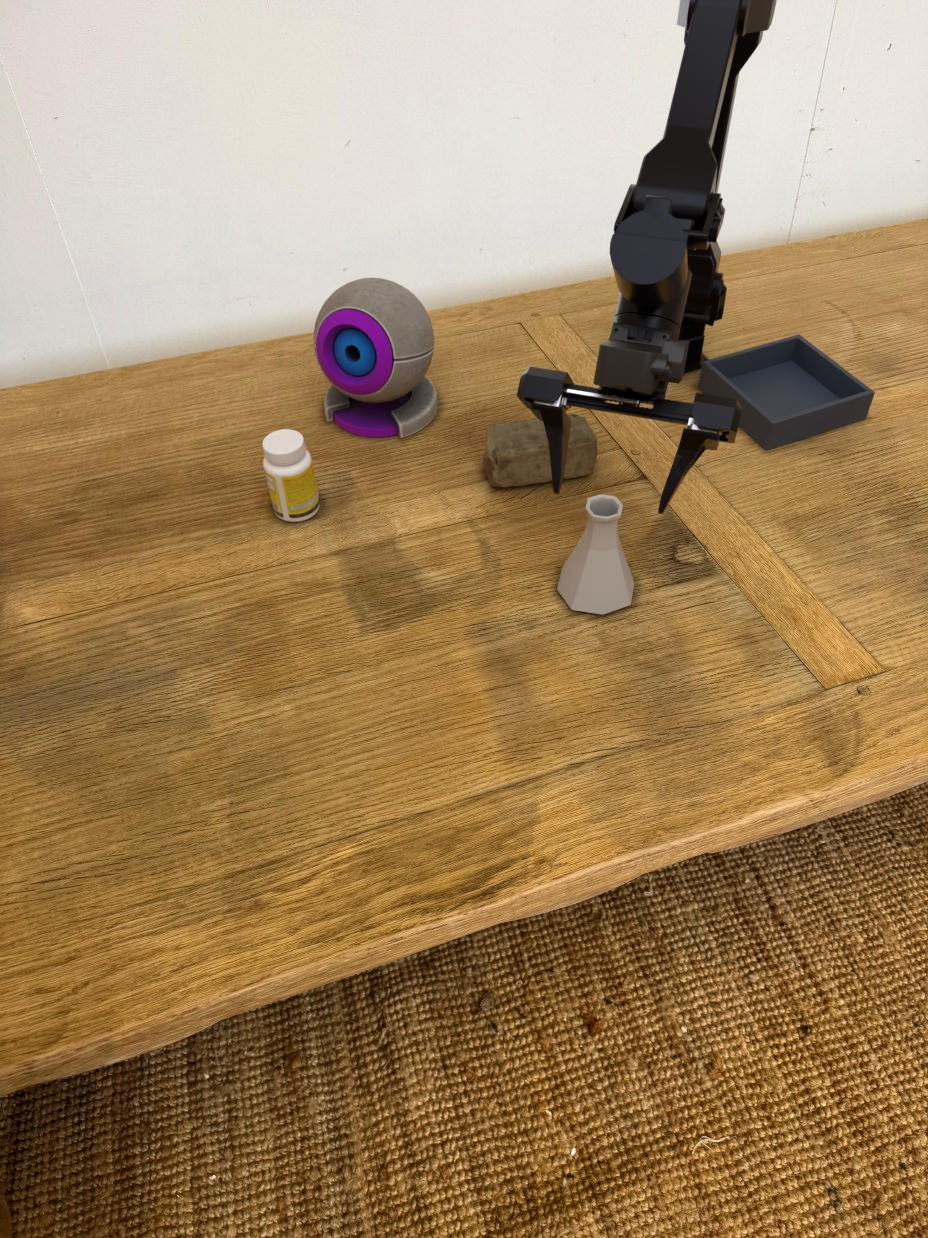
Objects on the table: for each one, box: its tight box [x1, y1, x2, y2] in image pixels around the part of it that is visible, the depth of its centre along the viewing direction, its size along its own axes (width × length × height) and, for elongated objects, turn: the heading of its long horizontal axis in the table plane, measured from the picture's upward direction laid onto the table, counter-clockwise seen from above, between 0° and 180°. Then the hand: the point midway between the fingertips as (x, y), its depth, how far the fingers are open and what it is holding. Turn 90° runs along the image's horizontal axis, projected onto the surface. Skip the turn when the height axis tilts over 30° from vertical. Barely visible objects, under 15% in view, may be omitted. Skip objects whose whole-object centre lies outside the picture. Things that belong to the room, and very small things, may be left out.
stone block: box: [482, 413, 598, 488], centre depth 97 cm, size 6×12×5 cm, turn 102°
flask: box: [556, 493, 635, 615], centre depth 83 cm, size 7×7×10 cm
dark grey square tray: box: [697, 333, 876, 452], centre depth 105 cm, size 13×13×4 cm
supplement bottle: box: [262, 428, 321, 523], centre depth 93 cm, size 5×5×8 cm
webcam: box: [313, 277, 439, 439], centre depth 102 cm, size 13×13×15 cm
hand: (607, 503), depth 81 cm, fingers open, 9 cm apart
